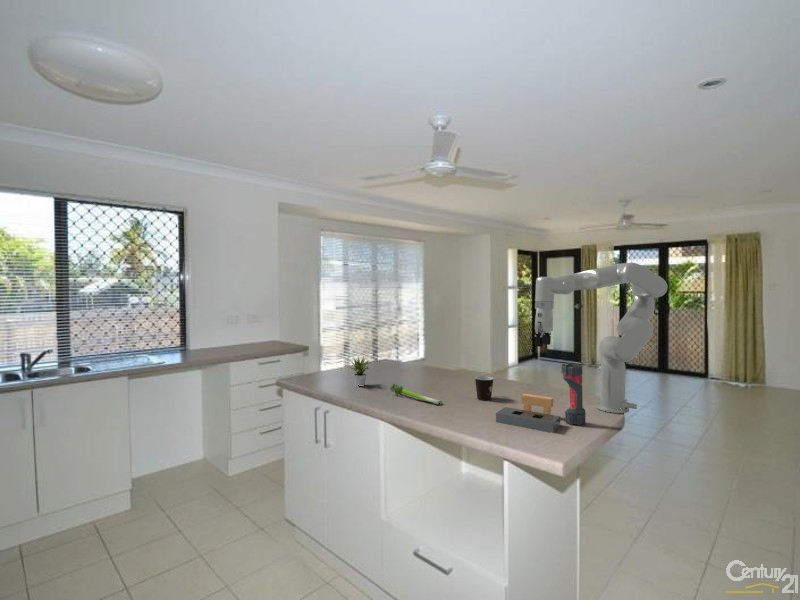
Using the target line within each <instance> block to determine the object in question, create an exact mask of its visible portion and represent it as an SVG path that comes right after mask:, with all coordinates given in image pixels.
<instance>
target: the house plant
mask: <svg viewBox="0 0 800 600" xmlns="http://www.w3.org/2000/svg"><path fill="white" fill-rule="evenodd" d="M352 359H353V361H354V362H353V361H351V360H350V363H351V364H352V365H353V366H354V367H349V369H352V370H354V371H355V373H353V381H354V386H355V385H366V379H367V373H365V371H366V370H369V371H370V370H371V369H370V365H368V364H369V363H370V361H372V358H371V359H367V360H366V357H365V356H364V355H363V356H362V359H361V361H360V358H359V356H357V359H356V358H354V357H353V358H352ZM365 360H366V361H365Z"/></svg>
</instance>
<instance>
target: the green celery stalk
mask: <svg viewBox="0 0 800 600" xmlns="http://www.w3.org/2000/svg"><path fill="white" fill-rule="evenodd" d="M389 391H390V392H392V393H395V397H399V396H400V395H401V394H403V395H407V396H410V397H413V398H417V399H420V400H423V401H426V402H428V403H429V402H430V403H431V404H436V405H443V401H442V400H440V399H436V398H431V397H428V396H425V395H422V394H418V393H415V392H413V391H409V390H407V389H404V386H402V385H401V386H399V385H398V384H396V383H393V384H392V385H391V387H390V389H389ZM439 403H440V404H439Z"/></svg>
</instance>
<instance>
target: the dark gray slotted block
mask: <svg viewBox="0 0 800 600" xmlns="http://www.w3.org/2000/svg"><path fill="white" fill-rule="evenodd" d="M495 422H496V423H499V422H500V424H505V425H508V426H509V425H511V426H516V427H521V428H526V429H530V428H531V430H535V429H536V430H537V431H540V432H541V431H542V432H546V431H547V432H546V433H551V432H552V434H553V432H554V433H555V432H556V431H557V430H558V429H559V428H560V427H561V416H560V415H556V414H555V415H554V414H551V415H550V414H544V412H543V413H542V412H537V411H532V410H531V411H526V410H524V409H520V408H514V407H508V406H507V407H503V408H502V409H500V410H497V412H496V413H495Z"/></svg>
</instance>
